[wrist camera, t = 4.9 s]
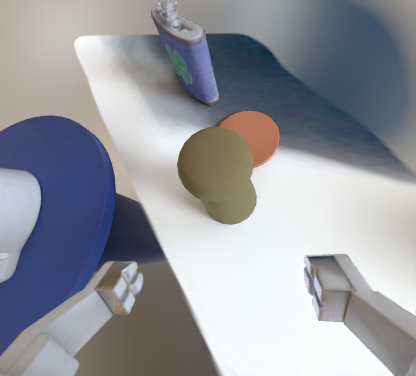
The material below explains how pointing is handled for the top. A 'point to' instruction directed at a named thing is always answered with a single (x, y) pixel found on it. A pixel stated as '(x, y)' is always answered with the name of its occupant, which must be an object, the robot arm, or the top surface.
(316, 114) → the top surface
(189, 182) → the cork
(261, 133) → the coaster
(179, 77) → the flask
